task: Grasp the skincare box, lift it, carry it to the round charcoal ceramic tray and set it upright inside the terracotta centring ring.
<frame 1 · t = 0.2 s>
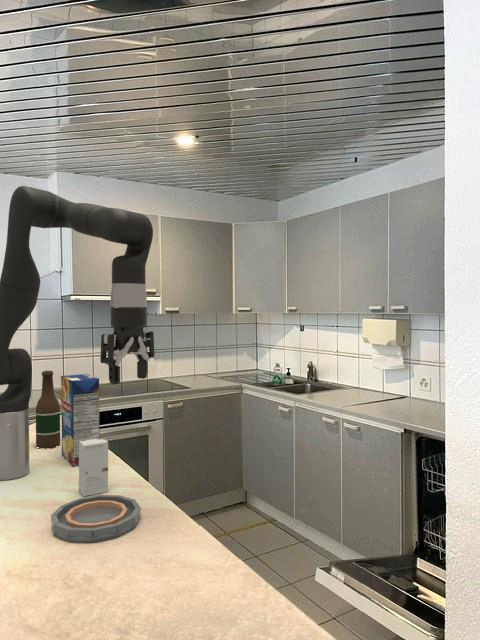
hand: (128, 380, 103), 28 cm above the counter, fingers open, 8 cm apart
skincare box: (93, 492, 115), on the counter
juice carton: (80, 459, 140), on the counter
ring tray: (96, 522, 98), on the counter
beer bottle: (48, 446, 153), on the counter
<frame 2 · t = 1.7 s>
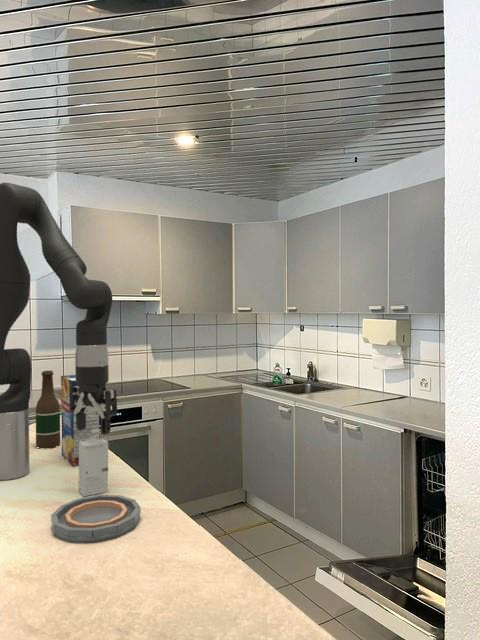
hand: (93, 431, 114), 15 cm above the counter, fingers open, 8 cm apart
nothing on the counter moved.
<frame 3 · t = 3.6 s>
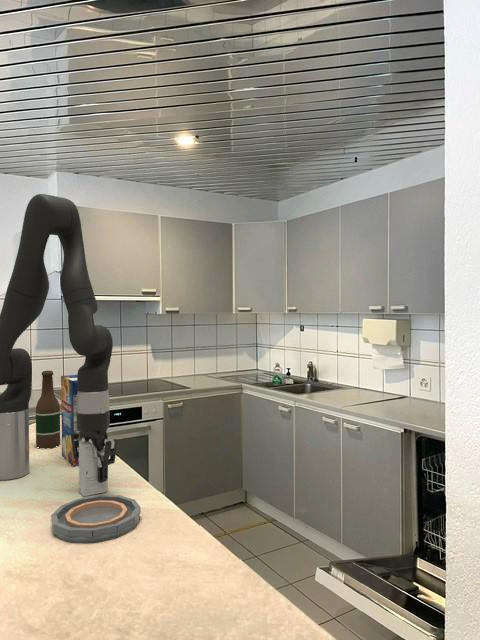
hand: (93, 478, 115), 3 cm above the counter, fingers closed on skincare box, 5 cm apart
skincare box: (93, 492, 115), on the counter, touching gripper
everything else where it was.
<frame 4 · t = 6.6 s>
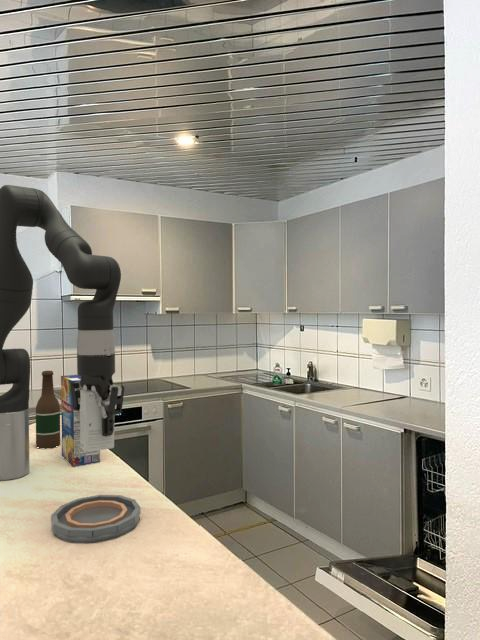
hand: (97, 433, 99), 18 cm above the counter, fingers closed on skincare box, 5 cm apart
skincare box: (97, 448, 99), point 15 cm above the counter, touching gripper
everything else where it was.
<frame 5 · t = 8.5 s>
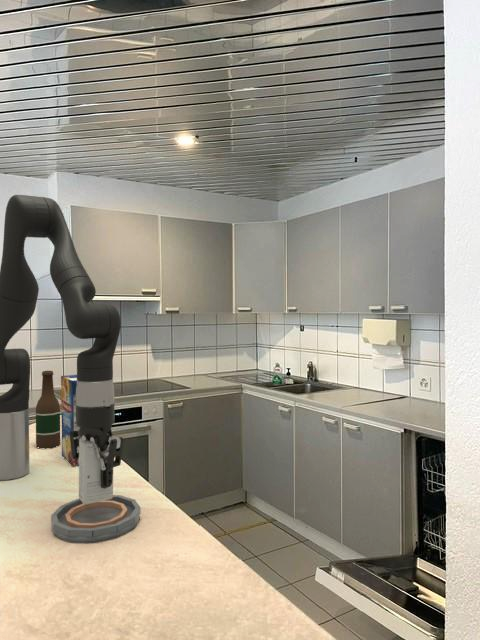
hand: (96, 483, 98), 8 cm above the counter, fingers closed on skincare box, 5 cm apart
skincare box: (96, 499, 98), point 5 cm above the counter, touching gripper
everything else where it was.
when the fingers open (5 cm above the counter, at t = 10.0 s): skincare box drops 1 cm, resting on ring tray.
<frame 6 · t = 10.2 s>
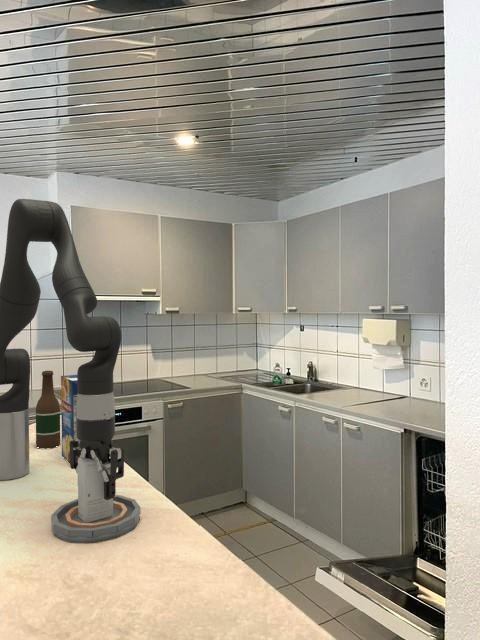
hand: (96, 494, 98), 6 cm above the counter, fingers open, 7 cm apart
skincare box: (96, 517, 98), point 1 cm above the counter, touching ring tray
everything else where it was.
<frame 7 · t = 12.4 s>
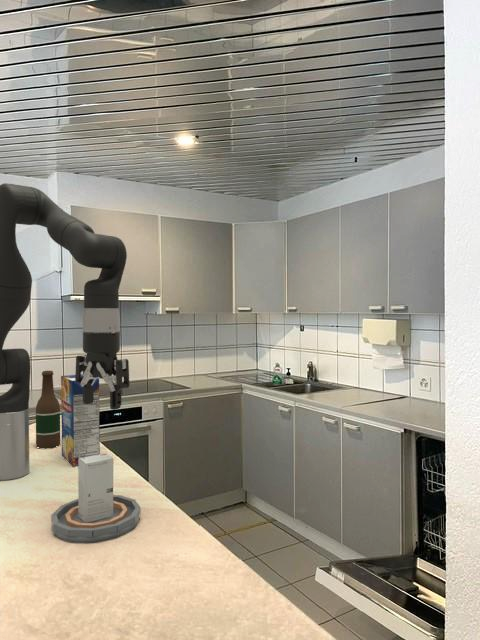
hand: (101, 406, 102), 23 cm above the counter, fingers open, 8 cm apart
nothing on the counter moved.
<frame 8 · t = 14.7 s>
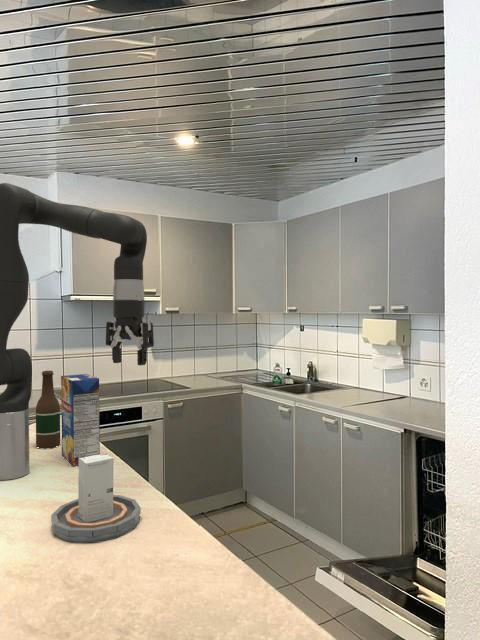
hand: (129, 364, 119), 30 cm above the counter, fingers open, 8 cm apart
nothing on the counter moved.
at the end: skincare box 0.3 cm off-centre on the ring tray, point 1.0 cm above the ring tray's base; skincare box tilted 0°; the gripper is holding nothing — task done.
